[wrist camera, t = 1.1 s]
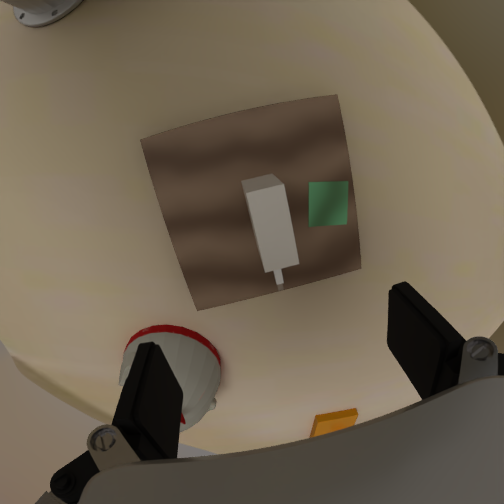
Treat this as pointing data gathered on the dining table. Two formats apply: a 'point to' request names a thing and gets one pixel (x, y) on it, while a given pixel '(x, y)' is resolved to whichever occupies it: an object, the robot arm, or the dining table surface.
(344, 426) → the orange block with cube
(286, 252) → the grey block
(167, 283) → the dining table surface
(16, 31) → the dining table surface
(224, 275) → the dial board
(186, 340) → the chicken figurine
